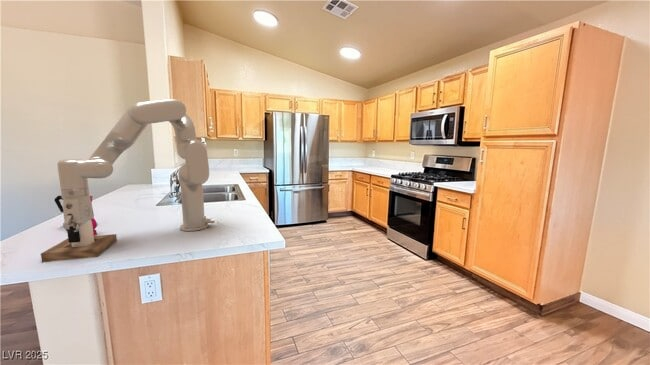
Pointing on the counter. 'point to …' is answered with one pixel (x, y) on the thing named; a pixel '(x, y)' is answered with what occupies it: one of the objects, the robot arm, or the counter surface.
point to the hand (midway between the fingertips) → (81, 237)
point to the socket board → (78, 249)
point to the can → (85, 234)
